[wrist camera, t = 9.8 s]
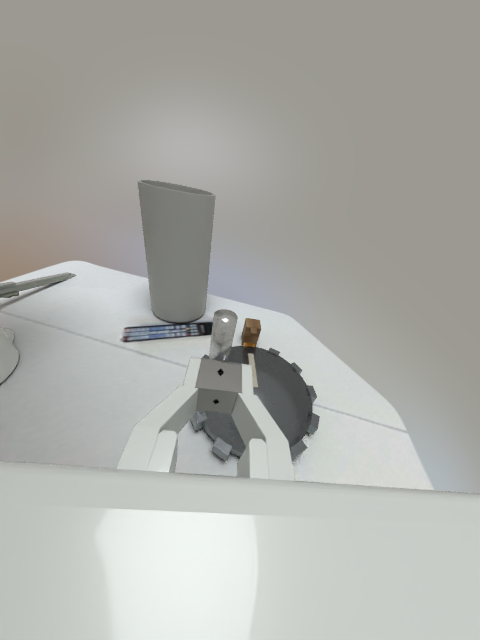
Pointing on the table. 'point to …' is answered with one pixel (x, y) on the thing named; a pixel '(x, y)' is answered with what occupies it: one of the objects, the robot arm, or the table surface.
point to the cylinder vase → (177, 247)
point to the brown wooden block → (251, 331)
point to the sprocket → (259, 392)
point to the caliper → (30, 284)
